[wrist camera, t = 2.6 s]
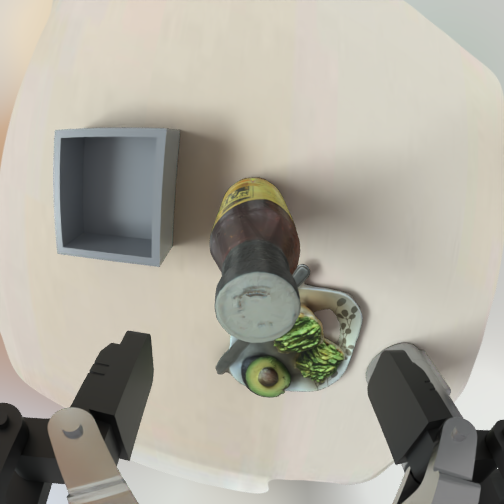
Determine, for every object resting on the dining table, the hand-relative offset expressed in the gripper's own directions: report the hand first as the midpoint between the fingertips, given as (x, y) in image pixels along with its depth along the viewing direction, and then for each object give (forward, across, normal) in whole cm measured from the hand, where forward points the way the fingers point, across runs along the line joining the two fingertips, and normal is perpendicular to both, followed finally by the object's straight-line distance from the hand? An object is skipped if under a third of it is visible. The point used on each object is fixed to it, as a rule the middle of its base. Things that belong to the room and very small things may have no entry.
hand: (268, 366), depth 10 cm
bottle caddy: (+24, +14, -1) cm, 28 cm away
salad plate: (+25, -7, +17) cm, 31 cm away
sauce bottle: (+24, 0, 0) cm, 24 cm away
